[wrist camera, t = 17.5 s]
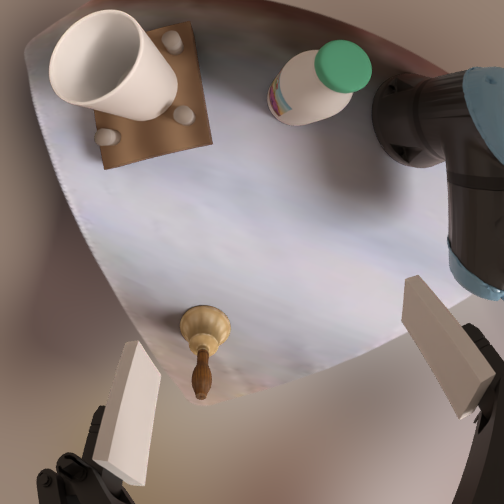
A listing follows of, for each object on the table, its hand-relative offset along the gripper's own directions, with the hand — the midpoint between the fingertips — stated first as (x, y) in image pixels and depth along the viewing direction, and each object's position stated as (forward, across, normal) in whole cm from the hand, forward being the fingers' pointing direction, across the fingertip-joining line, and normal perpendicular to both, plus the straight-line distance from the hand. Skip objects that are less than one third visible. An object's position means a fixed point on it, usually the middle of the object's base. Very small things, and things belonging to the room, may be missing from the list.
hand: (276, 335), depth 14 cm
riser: (+32, -10, +14) cm, 37 cm away
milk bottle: (+33, +9, +9) cm, 35 cm away
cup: (+28, -9, +15) cm, 33 cm away
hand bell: (+27, -12, -21) cm, 37 cm away
